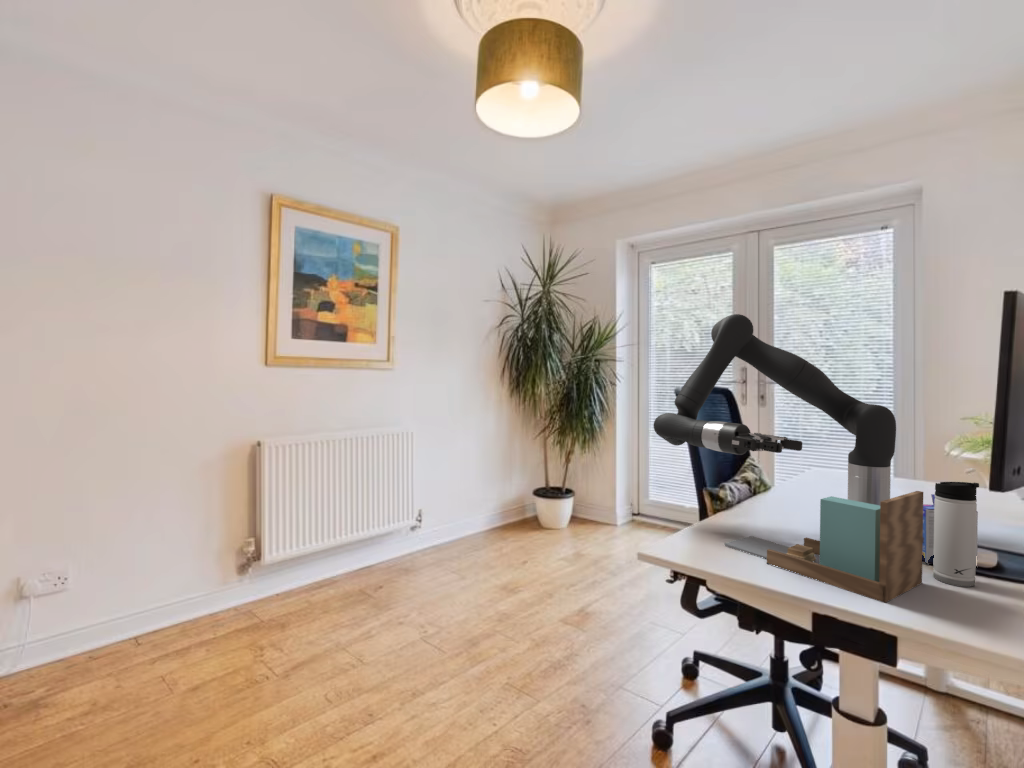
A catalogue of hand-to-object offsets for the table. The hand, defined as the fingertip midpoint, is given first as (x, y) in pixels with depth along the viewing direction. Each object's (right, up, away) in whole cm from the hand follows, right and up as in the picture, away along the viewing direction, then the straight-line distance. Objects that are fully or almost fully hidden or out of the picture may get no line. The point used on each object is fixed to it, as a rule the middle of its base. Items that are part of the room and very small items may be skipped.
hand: (791, 447), depth 111 cm
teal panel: (+6, -25, -10) cm, 28 cm away
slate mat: (-4, -25, +6) cm, 26 cm away
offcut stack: (+1, -25, -1) cm, 25 cm away
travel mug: (+26, -25, -12) cm, 38 cm away
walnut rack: (+5, -25, -8) cm, 27 cm away
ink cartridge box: (+32, -25, -2) cm, 41 cm away
